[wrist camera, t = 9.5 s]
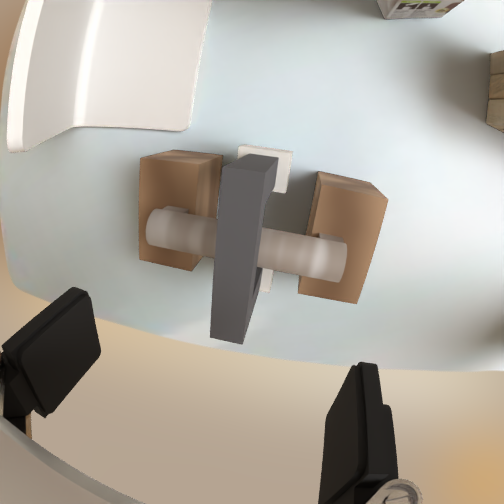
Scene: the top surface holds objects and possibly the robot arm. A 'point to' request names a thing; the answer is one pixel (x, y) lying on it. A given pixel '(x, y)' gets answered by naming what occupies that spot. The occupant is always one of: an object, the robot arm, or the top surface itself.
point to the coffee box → (416, 8)
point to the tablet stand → (104, 66)
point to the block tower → (496, 92)
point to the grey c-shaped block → (243, 237)
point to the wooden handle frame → (272, 241)
